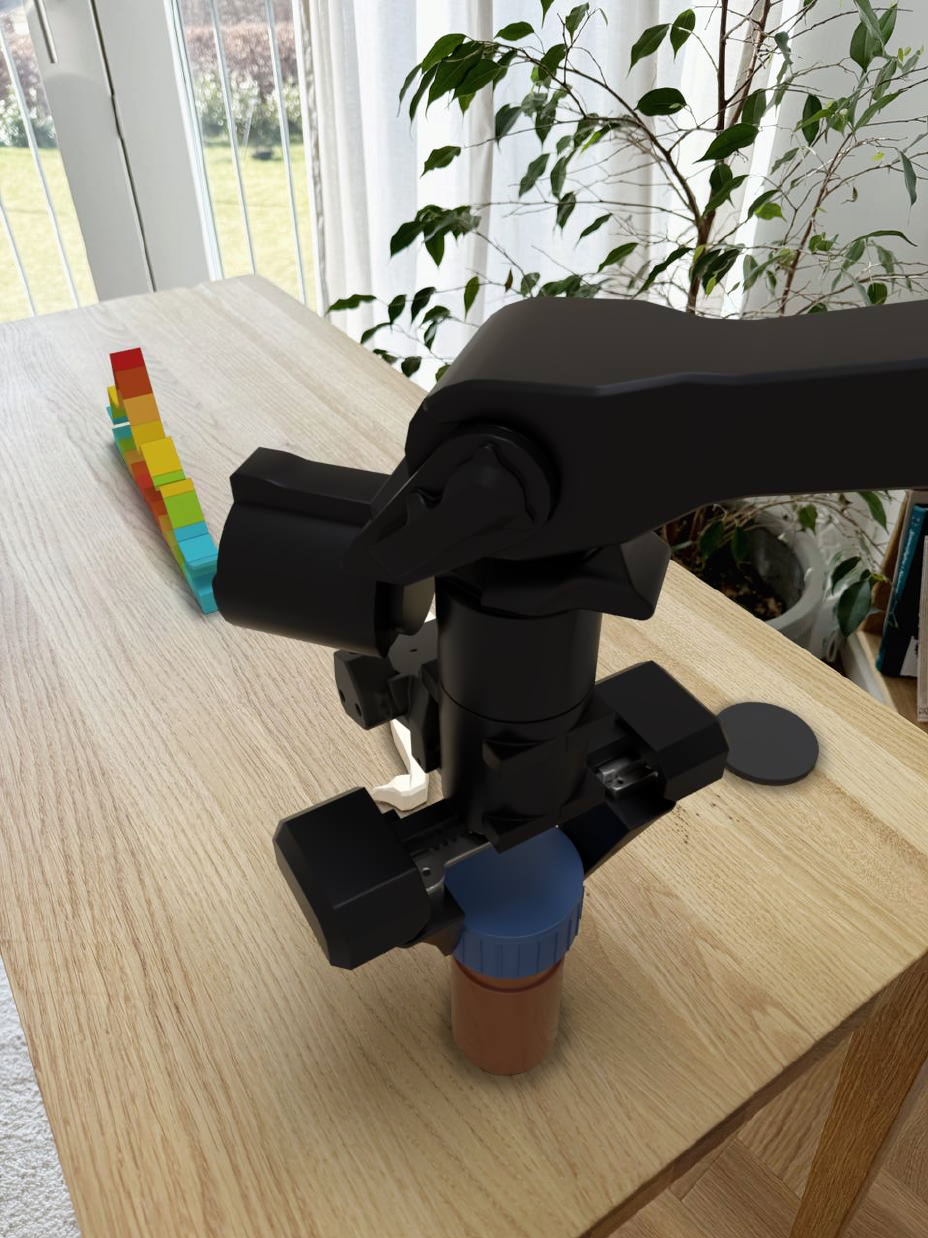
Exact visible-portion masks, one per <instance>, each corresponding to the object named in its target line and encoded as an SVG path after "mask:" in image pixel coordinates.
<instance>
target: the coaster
mask: <svg viewBox="0 0 928 1238" xmlns="http://www.w3.org/2000/svg"><path fill="white" fill-rule="evenodd" d="M716 716H717V717H718V718H719V719H720V720H721V721H722V722H723V724H724V727H725V729H726V732H727V735H728V737H729V753H728V757H727V761H726V765H725V768H726V770H728V771H729V772H731V773H732V774H735V776H738V777H740V778H742V779H744V780H747V781H749V782H753V783H756V784H761V785H766V786H767V785H768V786H782V785H783V786H784V785H789V784H793V783H796V782H798V781H800V780H803V779H804V778H805V777H807V776H808V775H810V773H811V772H812V771H813V769H814V768H815V766H816V764H817V762H818V758H819V754H820V746H819V740H818V738H817V736H816V734H815V732H814V731H813V729H812V728H811V726H809V724H807V722H805V720H803V719H802V718H801V717H800V716H798V715H797V714H795V713H794V712H792V711H791V710H788V709H786V708H784V707H781V706H779V705H776V704H773V703H768V702H762V701H761V702H760V701H744V702H739V703H734V704H732V705H729V706H727V707H725V708H724V709H722V710H721V711H720V712H719V713H718V714H716Z"/></svg>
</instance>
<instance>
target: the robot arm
mask: <svg viewBox="0 0 928 1238" xmlns="http://www.w3.org/2000/svg"><path fill="white" fill-rule="evenodd" d="M403 451H404V456H403V457H402V459H401V460H400V462H399V463H398V464H397V466H396V467H395V468H394V470H393V471H392V472H391V474H390V473H383V472H378V471H371V470H367V469H360V468H355V467H350V466H343V465H338V464H332V463H326V462H321V461H315V460H311V459H307V458H305V457H302V456H300V455H298V454H295V453H293V452H289V451H285V450H280V449H276V448H269V447H263V446H258V447H257V448H256V449H255V450H254V451H253V452H251V454H250V455H249V456H248V457H247V458H246V459H245V460H244V461H243V462H242V463H241V464H240V466H238V467H237V468H236V469H235V470H234V471H233V473H232V474H230V476H229V477H228V478H229V484H230V489H231V496H232V500H233V502H232V505H231V507H230V509H229V511H228V514H227V517H226V519H225V521H224V524H223V528H222V532H221V536H220V540H219V543H218V549H217V550H218V557H217V573H216V574H215V575H214V577H213V580H212V590H213V596H214V600H215V603H216V605H217V608H218V610H217V611H218V612H219V614H220V615H221V617H222V618H223V620H224V621H225V622H227V623H228V624H230V625H232V626H234V627H237V628H243V629H247V630H250V631H251V630H252V631H255V632H261V633H264V634H269V635H274V636H278V637H282V638H287V639H291V640H294V641H295V640H296V641H300V642H304V643H309V644H314V645H318V646H322V647H326V648H331V649H335V650H336V651H334V652H333V655H332V656H333V669H334V681H335V684H336V685H335V686H336V688H337V693H338V697H339V701H340V704H341V707H342V708H343V710H344V712H345V714H346V715H347V716H348V717H349V718H351V719H352V720H353V721H354V722H355V723H356V724H357V725H358V726H359V727H360V728H361V729H363V730H364V731H366V732H368V731H370V730H373V729H375V728H378V727H380V726H382V725H385V724H388V723H390V721H392V720H394V719H396V720H397V721H398V722H400V723H401V724H402V725H403V726H404V727H406V728H407V729H408V730H409V731H410V739H411V755H412V756H413V758H414V759H415V760H416V762H417V763H418V765H419V766H420V767H421V769H422V770H423V771H424V773H425V774H427V773H429V774H430V773H431V772H434V771H437V774H439V776H440V786H441V789H440V790H441V795H442V799H440V800H438V801H435V802H434V803H431V804H429V805H427V806H425V807H423V808H421V809H418V810H416V811H414V812H412V813H410V814H408V815H405V816H403V817H401V816H400V815H399V813H398V812H397V811H396V809H395V808H391V809H388V810H387V811H384V812H382V811H381V809H380V807H379V806H378V805H377V802H375V801H376V800H374V799H373V798H372V797H371V795H370V792H369V791H368V789H367V788H366V787H365V786H358V785H357V786H354V787H352V788H350V789H347V790H344V791H343V792H341V793H338V794H336V795H334V796H332V797H329V798H327V799H325V800H322V801H319V802H318V803H315V804H313V805H310V806H309V807H307V808H304V809H302V810H299V811H297V812H295V813H292V814H291V815H288V816H286V817H284V818H281V819H279V820H278V823H277V825H276V828H275V831H274V834H273V836H272V839H271V842H272V846H273V851H274V856H275V861H276V865H277V867H278V869H279V871H280V872H281V873H280V874H281V875H282V876H283V879H284V880H285V882H286V884H287V886H288V887H289V890H290V892H291V893H292V895H293V897H294V899H295V902H296V903H297V906H298V907H299V908H300V911H301V912H302V914H303V917H304V918H305V920H306V922H307V924H308V926H309V928H310V929H311V931H312V933H313V935H314V938H315V939H316V941H317V943H318V945H319V946H320V948H321V951H322V952H323V954H324V956H325V958H326V960H327V961H328V963H329V966H330V967H334V968H339V969H341V970H342V969H343V970H347V971H354V970H356V969H358V968H359V967H361V966H363V965H365V964H367V963H370V962H371V961H372V960H374V959H376V958H379V957H381V956H382V955H384V954H386V953H388V952H391V951H392V950H394V949H396V948H398V949H401V950H408V949H410V948H412V947H415V946H416V945H419V944H422V943H423V944H427V945H431V946H434V947H436V948H437V949H438V950H439V952H440V953H441V954H442V955H443V957H445V958H447V957H450V955H451V954H452V953H453V952H454V950H455V949H456V948H457V946H458V943H459V939H460V935H461V931H462V928H463V925H464V921H465V913H464V911H463V910H462V909H461V907H460V906H459V904H458V903H457V901H456V900H455V898H454V897H453V895H452V894H451V892H450V891H449V889H448V888H447V886H446V885H445V883H444V881H445V870H446V869H447V868H448V867H450V866H452V865H454V864H456V863H458V862H460V861H462V860H464V859H466V858H468V857H470V856H472V855H474V854H476V853H478V852H480V851H482V850H484V849H486V848H488V847H490V846H492V845H493V847H494V848H495V849H496V851H497V852H498V853H499V854H501V853H503V852H505V851H507V850H509V849H511V848H513V847H515V846H517V845H519V844H521V843H523V842H525V841H527V840H529V839H531V838H533V837H535V836H537V835H539V834H541V833H543V832H545V831H547V830H549V829H551V828H553V827H555V826H556V827H557V828H559V829H560V830H561V831H562V832H563V833H565V835H566V836H567V837H568V838H569V839H570V840H571V842H572V843H573V844H574V846H575V847H576V849H577V851H578V853H579V855H580V858H581V861H582V865H583V870H584V881H586V880H587V879H588V878H589V877H591V875H593V874H594V873H595V872H596V871H597V870H599V869H600V868H602V866H603V865H604V864H606V863H607V862H608V861H609V860H610V859H612V857H614V856H616V854H617V853H619V852H620V851H621V850H622V849H623V848H625V847H626V846H627V845H628V844H630V843H631V842H632V841H633V840H634V839H636V838H637V837H639V835H641V834H642V833H644V832H645V831H646V830H647V829H648V828H649V827H651V826H652V825H654V823H656V822H657V821H659V820H660V819H662V817H664V816H666V815H668V814H669V813H671V812H672V811H674V809H675V808H676V806H677V803H678V802H679V801H681V800H684V799H685V798H687V797H689V796H691V795H693V794H694V793H697V792H699V791H700V790H702V789H704V788H707V787H708V786H710V785H712V784H713V783H716V782H718V781H720V780H721V779H723V777H724V773H725V768H726V767H725V765H726V761H727V757H728V753H729V737H728V735H727V732H726V729H725V727H724V724H723V722H722V721H721V720H720V719H719V718H718V717H717V714H715V713H714V712H713V711H711V709H710V708H708V707H707V706H706V704H704V703H702V701H701V700H700V699H698V698H697V697H696V696H695V695H694V694H693V693H692V692H691V691H689V690H688V688H686V687H685V686H684V685H683V684H682V683H681V682H680V681H679V680H678V679H676V677H674V676H673V675H672V674H671V673H670V672H669V671H668V670H667V669H666V668H664V667H663V666H661V665H660V664H659V663H657V662H656V661H654V660H653V659H651V660H650V659H649V660H645V661H641V662H636V663H634V664H631V665H629V666H627V667H625V668H623V669H620V670H618V671H616V672H613V673H612V674H608V675H607V676H604V677H602V678H600V679H597V680H596V678H597V670H598V669H597V668H598V658H599V650H600V641H601V634H602V633H601V632H602V623H603V614H606V615H610V616H615V617H620V618H624V619H625V618H626V619H629V620H634V621H638V622H639V621H642V622H645V621H648V620H650V619H651V618H653V617H654V615H655V613H656V609H657V607H658V606H657V605H658V602H659V599H660V595H661V591H662V589H663V585H664V582H665V578H666V574H667V572H668V567H669V564H670V560H671V557H672V548H671V546H670V545H669V544H668V542H666V541H665V540H664V539H662V538H661V537H660V536H659V535H658V534H657V533H656V532H655V530H656V531H657V530H658V529H660V528H662V527H665V526H666V525H669V524H671V523H673V522H675V521H677V520H679V519H681V518H683V517H686V516H689V515H690V514H693V513H694V512H696V511H699V510H700V509H704V508H706V507H709V506H715V505H720V504H724V503H725V504H726V503H731V502H734V501H740V500H745V499H751V498H765V497H767V498H768V497H784V496H785V497H786V496H787V497H788V496H806V495H825V494H827V495H828V494H844V493H845V494H847V493H865V492H866V493H867V492H886V491H888V492H889V491H907V490H925V489H926V490H928V298H925V299H918V300H909V301H901V302H900V301H899V302H892V303H884V304H875V305H866V306H858V307H851V308H841V309H834V310H826V311H818V312H809V313H801V314H793V315H791V314H790V315H783V316H776V317H767V318H760V319H741V318H719V317H717V318H715V317H707V316H701V315H698V314H695V313H691V312H687V311H683V310H680V309H677V308H673V307H670V306H666V305H662V304H658V303H655V302H652V301H649V300H644V299H635V298H634V299H631V298H629V299H628V298H606V297H605V298H604V297H603V298H602V297H575V296H553V295H550V296H549V295H545V296H544V295H543V296H542V295H541V296H531V297H527V298H524V299H521V300H519V301H514V302H512V303H508V304H506V305H504V306H502V307H501V308H499V309H498V310H496V311H494V312H493V313H492V314H490V315H489V317H488V318H487V319H486V320H485V321H484V322H483V323H482V324H481V325H480V326H479V327H478V329H477V330H476V332H475V333H474V334H473V335H472V337H471V338H470V339H469V341H467V343H466V344H465V346H464V347H463V348H462V350H461V351H460V352H459V353H458V355H456V357H455V358H454V360H453V361H452V362H451V364H450V365H449V366H448V368H447V369H446V370H445V371H444V372H443V374H442V375H441V377H439V379H438V380H437V382H436V383H435V384H434V386H433V387H432V388H431V389H430V390H429V392H428V394H426V396H425V397H424V398H423V400H422V402H421V403H420V405H419V406H418V408H417V409H416V411H415V412H414V414H413V416H412V418H411V419H410V421H409V422H408V427H407V432H406V438H405V443H404V450H403ZM433 601H434V609H435V611H434V612H435V617H436V618H435V619H432V620H430V621H427V622H425V620H426V618H427V616H428V613H429V611H431V608H432V604H433ZM424 622H425V623H424Z"/></svg>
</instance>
